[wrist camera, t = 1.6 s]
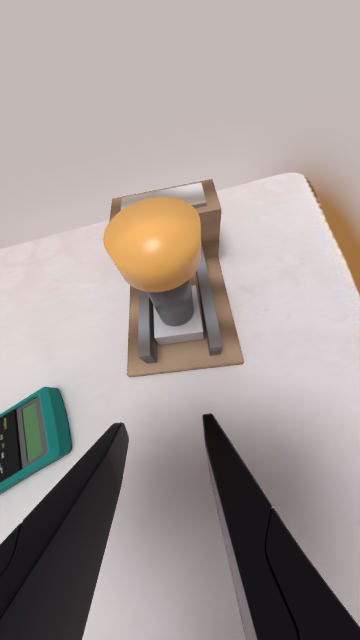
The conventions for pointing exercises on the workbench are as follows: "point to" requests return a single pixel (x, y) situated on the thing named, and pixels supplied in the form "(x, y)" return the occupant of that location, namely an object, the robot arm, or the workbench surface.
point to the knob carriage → (161, 262)
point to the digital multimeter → (32, 436)
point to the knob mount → (211, 292)
